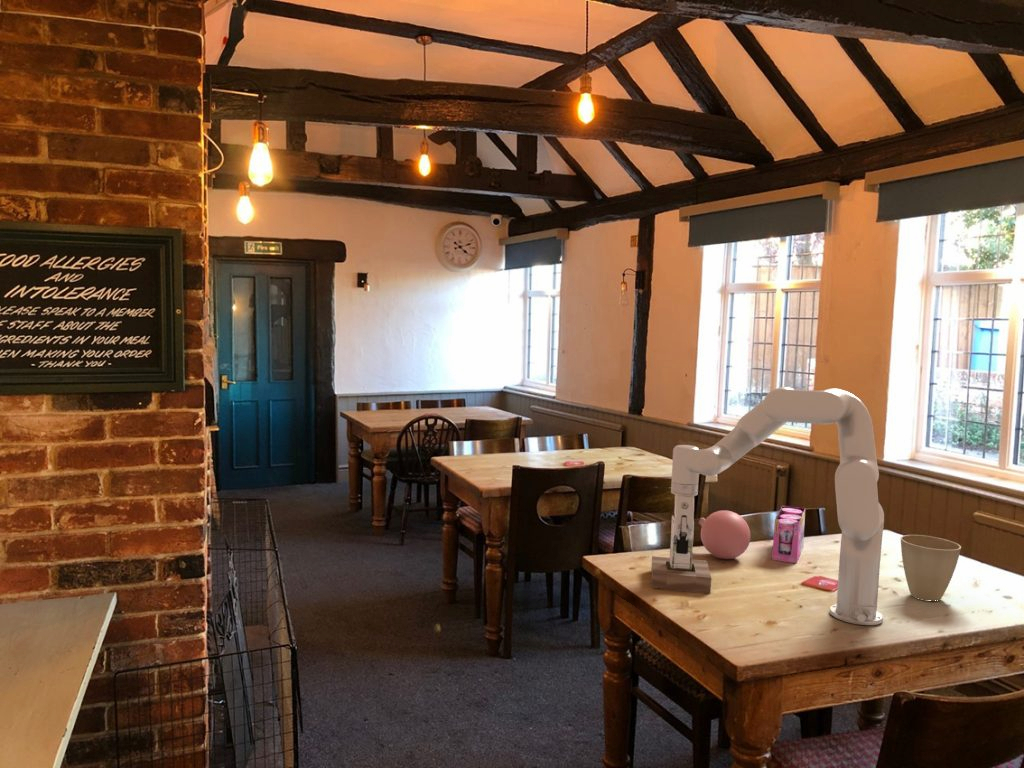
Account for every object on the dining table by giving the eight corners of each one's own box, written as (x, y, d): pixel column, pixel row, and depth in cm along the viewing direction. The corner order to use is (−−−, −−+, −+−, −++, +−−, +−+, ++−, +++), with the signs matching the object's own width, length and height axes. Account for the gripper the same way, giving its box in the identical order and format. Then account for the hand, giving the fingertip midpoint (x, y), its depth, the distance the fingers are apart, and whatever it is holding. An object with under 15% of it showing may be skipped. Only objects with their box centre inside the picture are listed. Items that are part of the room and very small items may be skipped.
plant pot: (925, 609, 206) (929, 550, 205) (884, 590, 221) (888, 535, 219) (969, 605, 210) (974, 548, 209) (927, 587, 225) (931, 533, 223)
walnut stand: (710, 593, 213) (711, 577, 212) (651, 588, 215) (652, 572, 215) (705, 575, 229) (706, 560, 228) (651, 570, 231) (652, 556, 231)
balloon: (720, 545, 261) (722, 501, 260) (759, 563, 243) (762, 515, 242) (681, 549, 256) (684, 503, 254) (719, 567, 237) (721, 518, 236)
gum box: (796, 565, 242) (799, 523, 241) (770, 561, 246) (773, 519, 244) (803, 546, 264) (806, 507, 263) (779, 543, 267) (781, 504, 266)
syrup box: (689, 564, 224) (691, 515, 223) (691, 570, 218) (694, 520, 217) (669, 563, 225) (671, 514, 224) (671, 569, 219) (673, 519, 218)
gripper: (700, 495, 211) (696, 560, 212) (696, 483, 228) (692, 543, 229) (672, 493, 212) (668, 557, 213) (670, 481, 229) (667, 541, 230)
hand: (681, 549), depth 221 cm, fingers closed on syrup box, 6 cm apart
